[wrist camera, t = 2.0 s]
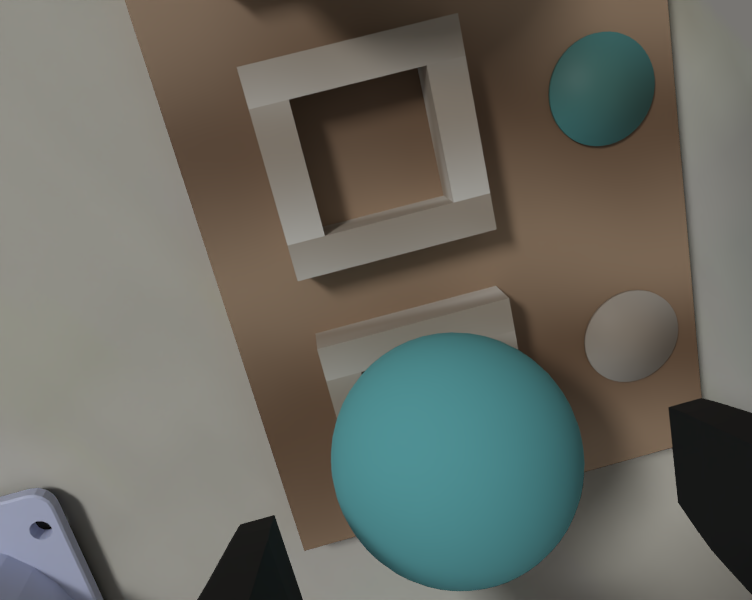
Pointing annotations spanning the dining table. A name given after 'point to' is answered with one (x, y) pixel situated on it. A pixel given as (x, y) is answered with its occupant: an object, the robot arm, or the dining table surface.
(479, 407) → the teal ball
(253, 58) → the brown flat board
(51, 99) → the dining table surface
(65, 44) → the dining table surface
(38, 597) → the robot arm
